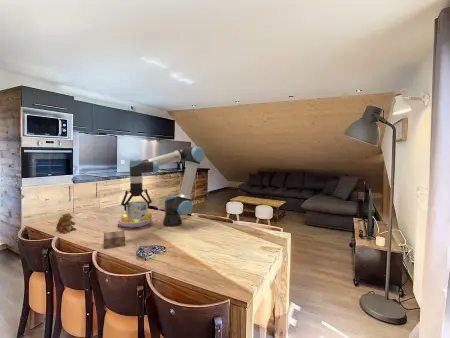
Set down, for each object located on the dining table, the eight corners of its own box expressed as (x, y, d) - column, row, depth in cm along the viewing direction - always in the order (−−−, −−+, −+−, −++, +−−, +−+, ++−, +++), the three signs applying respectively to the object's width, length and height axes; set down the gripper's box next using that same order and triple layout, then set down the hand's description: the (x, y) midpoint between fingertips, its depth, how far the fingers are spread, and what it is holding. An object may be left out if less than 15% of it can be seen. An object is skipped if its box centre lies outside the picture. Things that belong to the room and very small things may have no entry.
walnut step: (124, 239, 163) (123, 230, 163) (125, 245, 152) (125, 236, 152) (104, 241, 158) (103, 232, 157) (103, 248, 147) (103, 239, 147)
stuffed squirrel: (65, 234, 171) (65, 216, 170) (51, 232, 176) (50, 214, 174) (78, 229, 181) (77, 212, 180) (64, 227, 185) (63, 210, 184)
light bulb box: (147, 217, 165) (146, 201, 164) (141, 220, 158) (140, 203, 157) (133, 215, 168) (133, 200, 167) (127, 218, 161) (126, 202, 160)
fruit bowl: (147, 230, 181) (147, 215, 180) (111, 230, 181) (110, 215, 180) (158, 220, 209) (158, 207, 208) (127, 219, 209) (126, 206, 208)
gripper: (153, 180, 170) (154, 211, 172) (116, 182, 159) (117, 215, 161) (155, 182, 163) (156, 213, 165) (116, 184, 152) (117, 218, 154)
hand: (137, 214), depth 163 cm, fingers closed on light bulb box, 12 cm apart
